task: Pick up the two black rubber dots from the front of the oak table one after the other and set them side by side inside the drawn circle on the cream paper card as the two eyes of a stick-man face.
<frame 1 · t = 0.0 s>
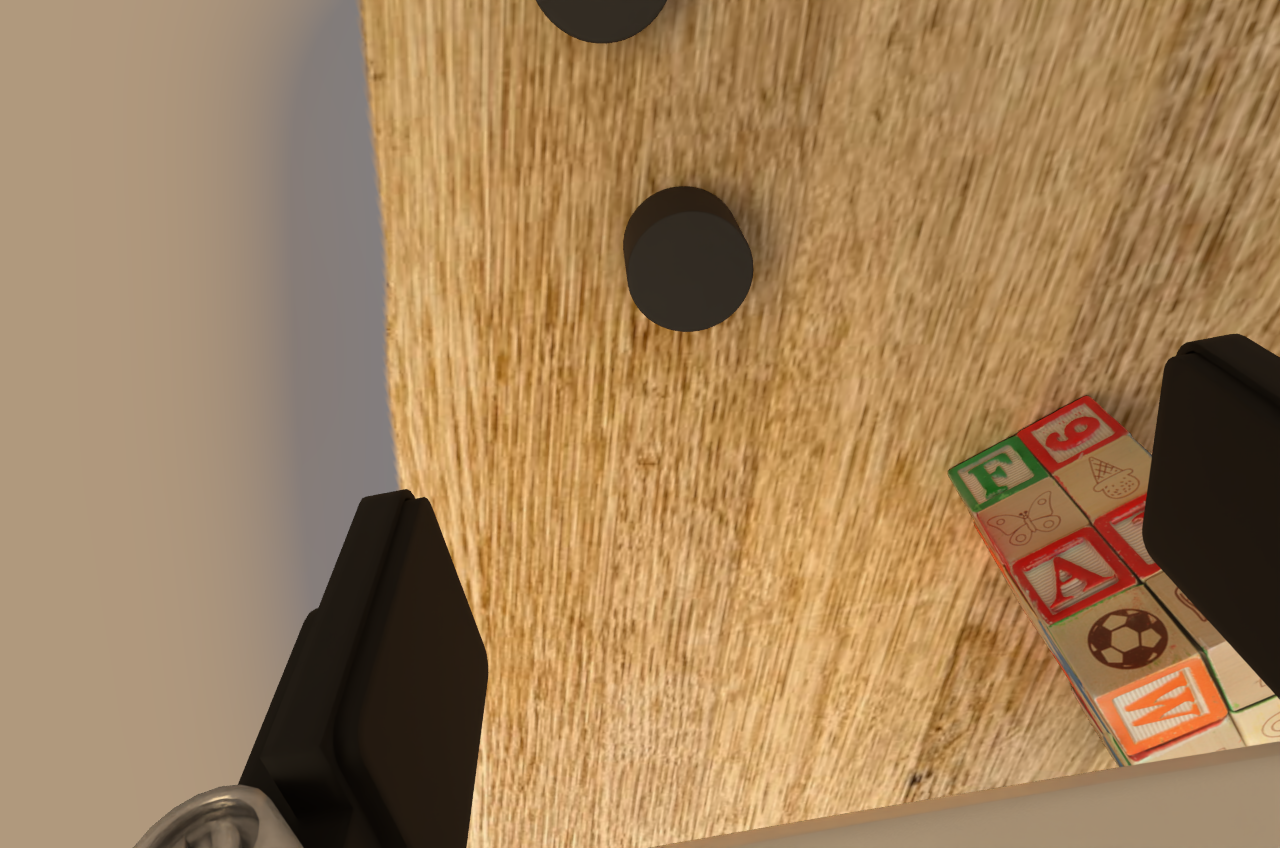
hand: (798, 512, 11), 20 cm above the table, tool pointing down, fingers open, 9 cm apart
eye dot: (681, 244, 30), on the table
stack of blocks: (1096, 593, 39), on the table
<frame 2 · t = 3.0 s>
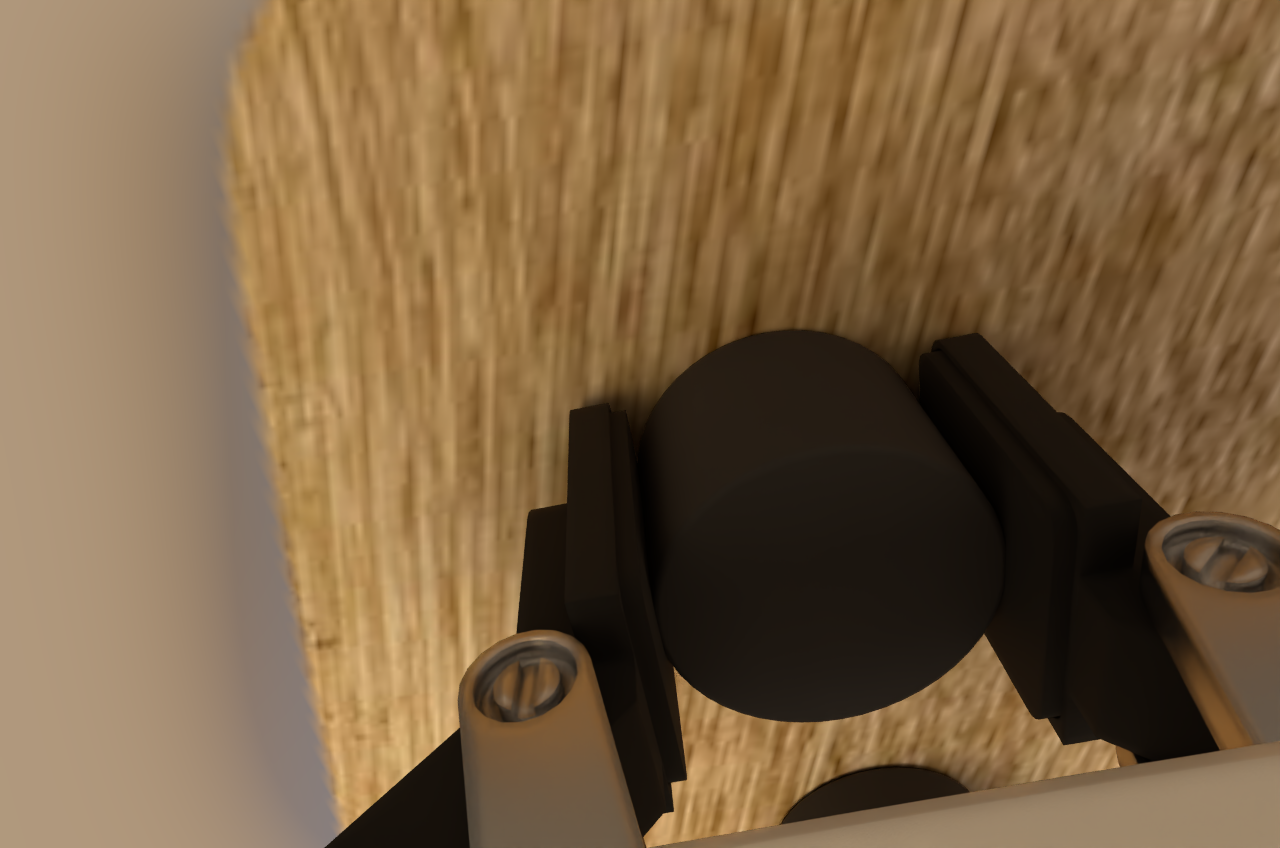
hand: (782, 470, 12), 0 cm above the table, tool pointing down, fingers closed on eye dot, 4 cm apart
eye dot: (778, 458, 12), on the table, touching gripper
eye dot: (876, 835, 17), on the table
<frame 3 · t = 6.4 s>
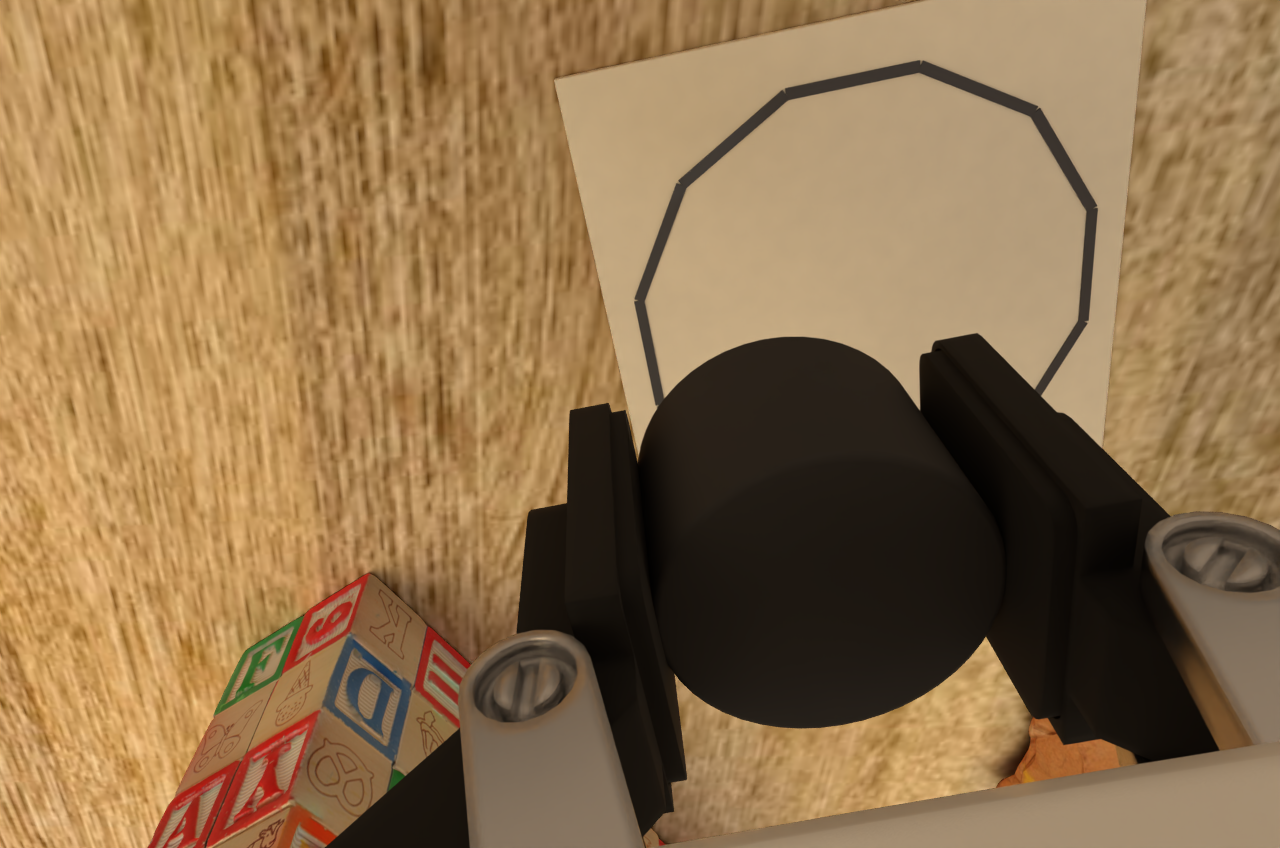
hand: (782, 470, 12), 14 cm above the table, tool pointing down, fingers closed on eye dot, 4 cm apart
face card: (863, 306, 26), on the table
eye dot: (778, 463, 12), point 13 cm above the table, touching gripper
stack of blocks: (495, 765, 35), on the table
stone: (1173, 725, 36), on the table
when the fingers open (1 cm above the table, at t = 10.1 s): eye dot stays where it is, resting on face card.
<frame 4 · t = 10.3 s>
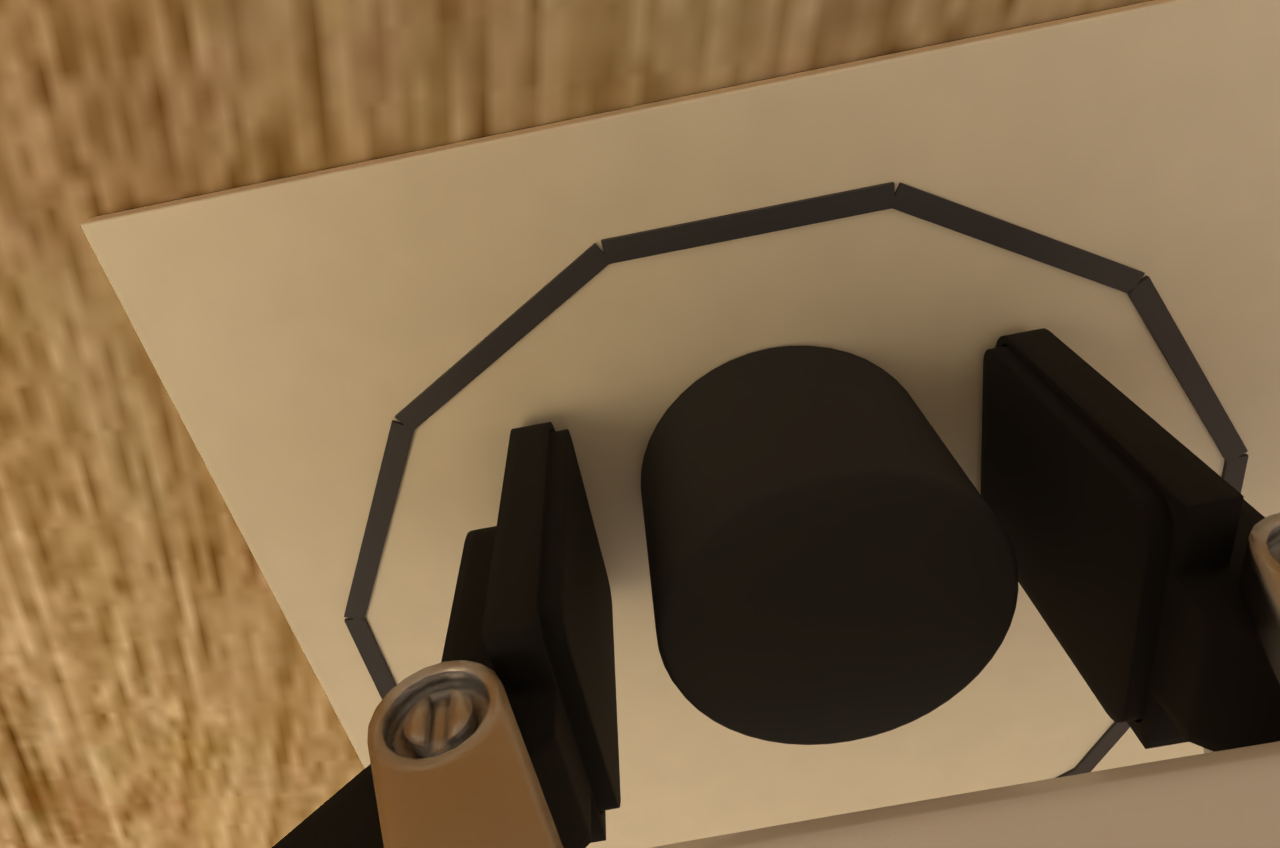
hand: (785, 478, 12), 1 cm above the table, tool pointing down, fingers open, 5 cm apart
face card: (792, 611, 14), on the table
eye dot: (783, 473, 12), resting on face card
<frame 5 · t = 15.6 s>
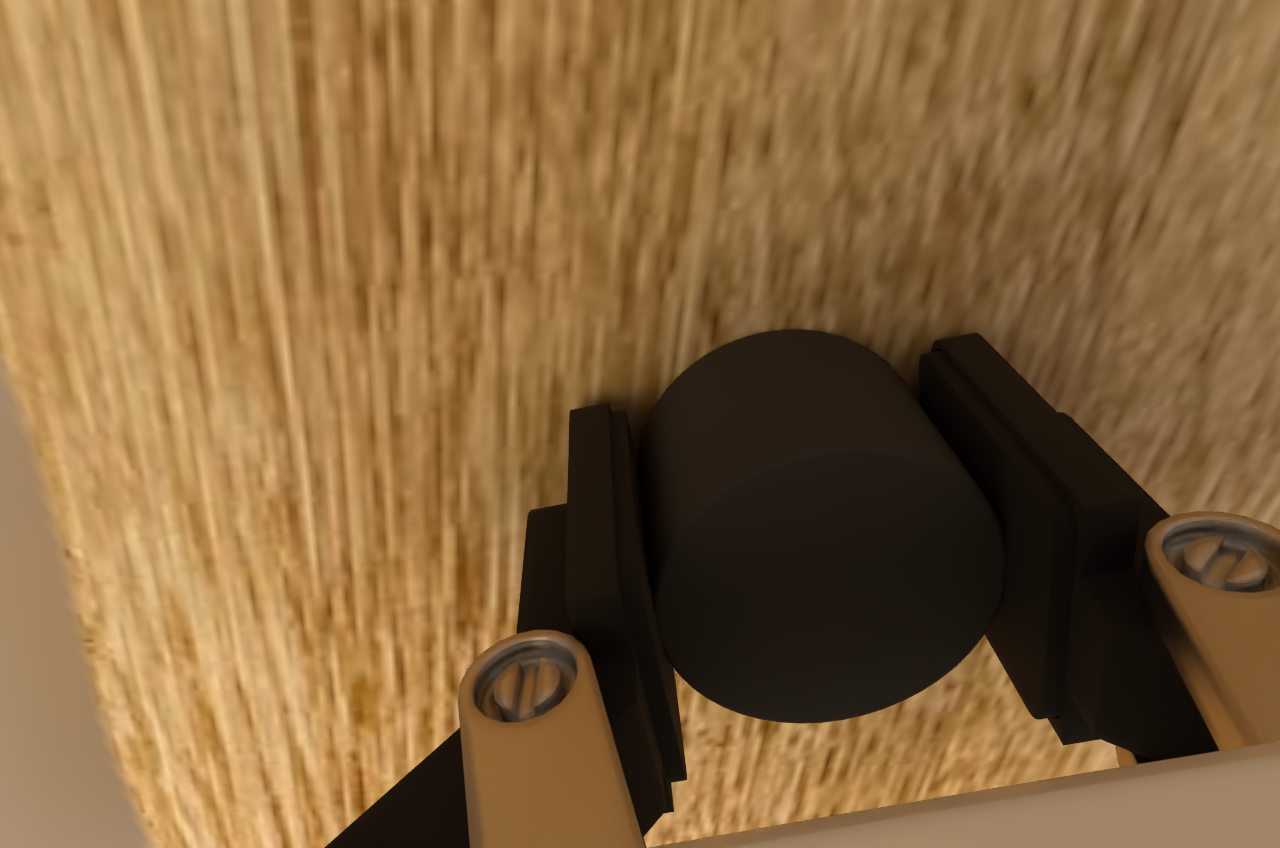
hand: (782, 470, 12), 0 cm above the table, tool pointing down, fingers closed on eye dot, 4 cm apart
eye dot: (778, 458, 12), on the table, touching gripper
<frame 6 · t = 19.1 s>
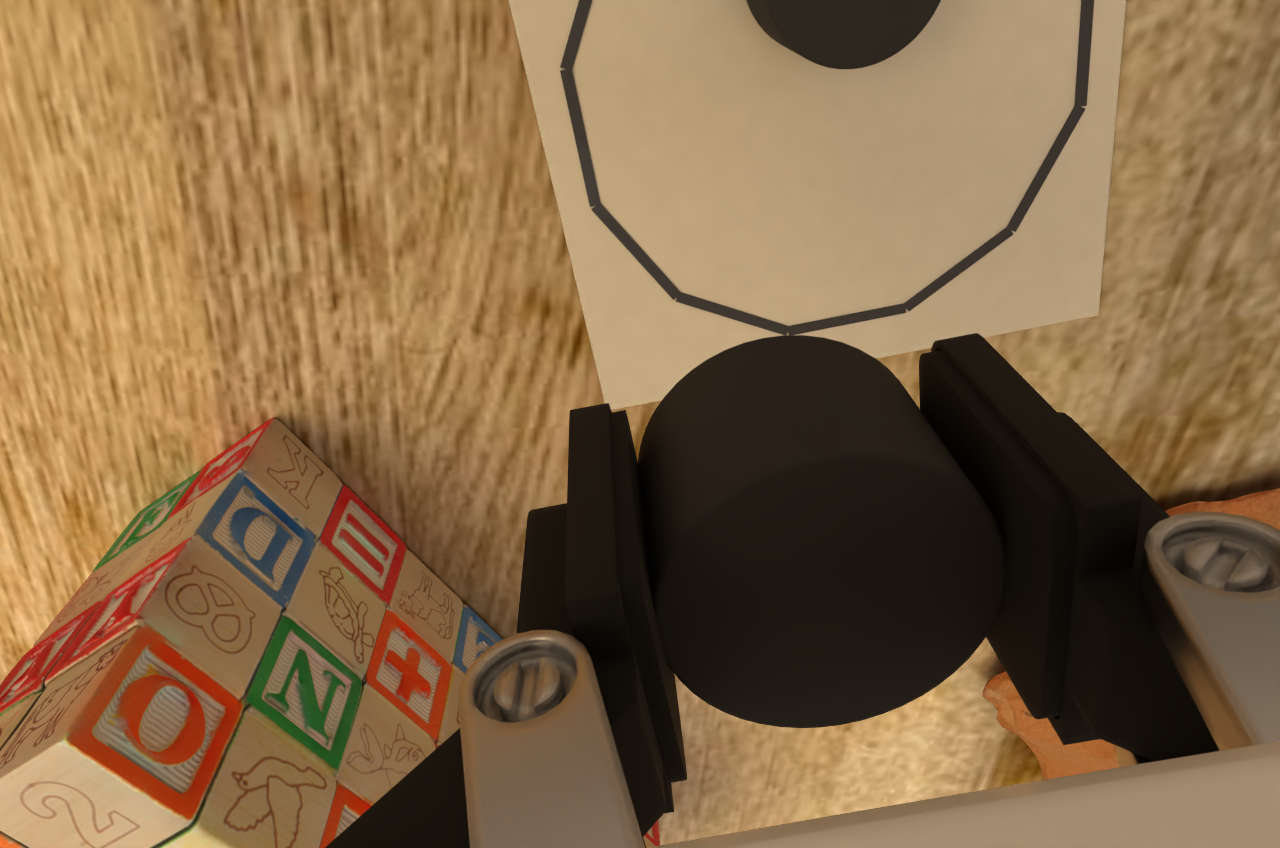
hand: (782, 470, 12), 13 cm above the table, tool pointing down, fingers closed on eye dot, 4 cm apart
face card: (827, 86, 22), on the table
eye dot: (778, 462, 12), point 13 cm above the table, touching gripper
stack of blocks: (429, 659, 32), on the table
stone: (1180, 621, 33), on the table
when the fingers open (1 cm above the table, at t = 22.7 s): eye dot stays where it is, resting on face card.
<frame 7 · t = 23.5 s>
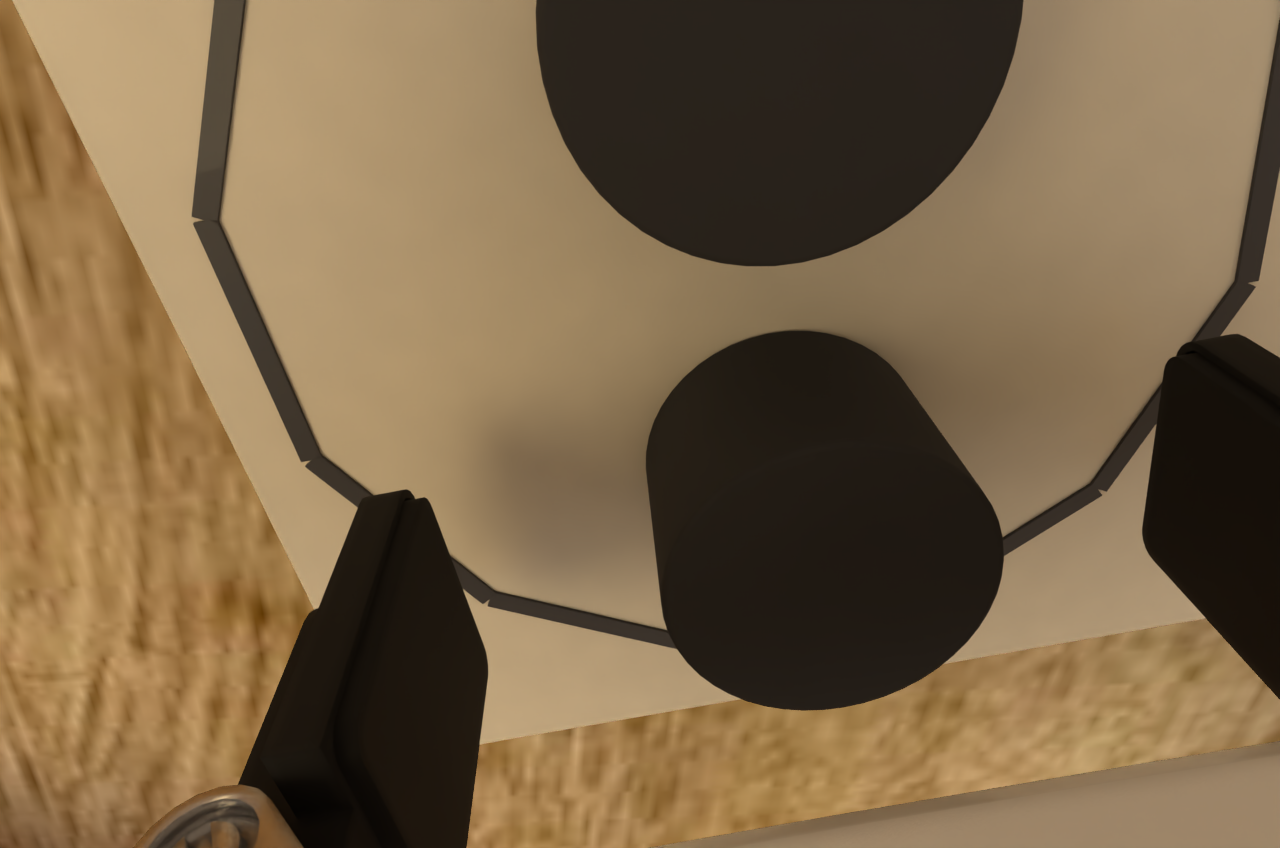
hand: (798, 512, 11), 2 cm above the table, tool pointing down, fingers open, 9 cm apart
face card: (749, 244, 11), on the table
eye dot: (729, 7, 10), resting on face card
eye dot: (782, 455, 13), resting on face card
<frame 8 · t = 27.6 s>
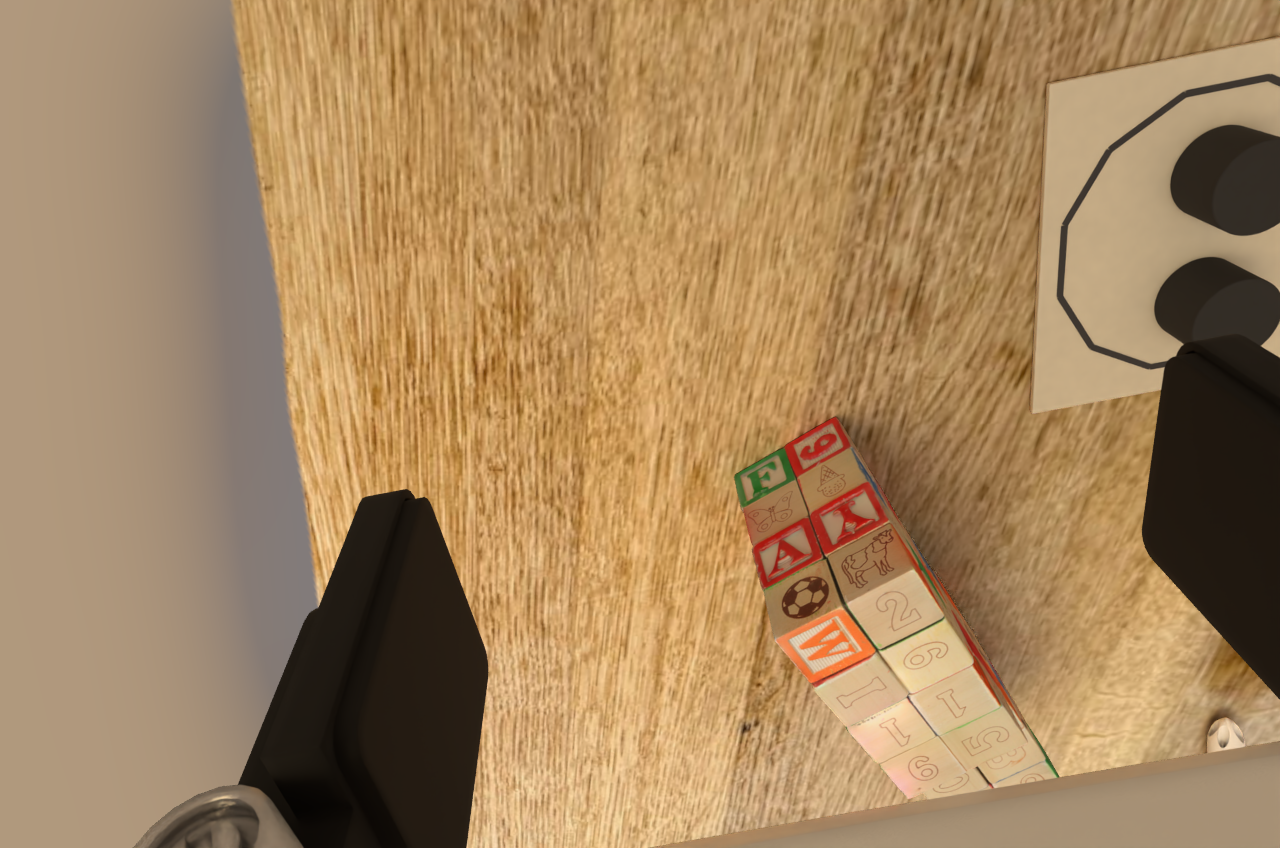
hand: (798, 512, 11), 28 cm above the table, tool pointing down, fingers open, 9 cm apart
face card: (1200, 232, 40), on the table
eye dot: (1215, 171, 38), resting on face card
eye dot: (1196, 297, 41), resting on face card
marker: (1213, 786, 60), on the table
stack of blocks: (871, 573, 49), on the table
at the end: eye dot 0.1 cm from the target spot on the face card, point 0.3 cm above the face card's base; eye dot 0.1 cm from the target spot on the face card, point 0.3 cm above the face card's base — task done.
